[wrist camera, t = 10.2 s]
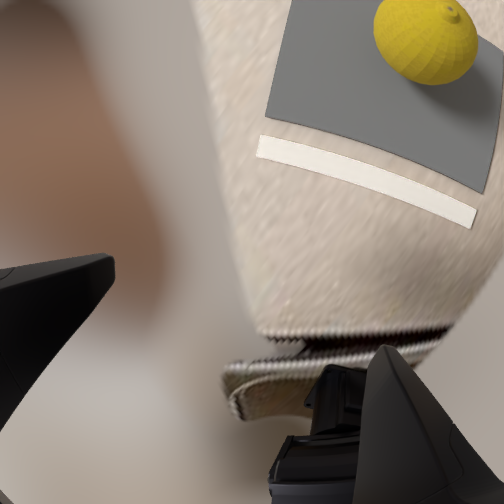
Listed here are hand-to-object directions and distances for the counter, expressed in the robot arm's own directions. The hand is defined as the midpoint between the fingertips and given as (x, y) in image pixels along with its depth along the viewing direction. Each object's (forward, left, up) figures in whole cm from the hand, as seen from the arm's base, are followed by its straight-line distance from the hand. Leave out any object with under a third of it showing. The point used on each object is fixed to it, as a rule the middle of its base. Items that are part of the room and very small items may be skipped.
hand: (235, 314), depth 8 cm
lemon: (+13, -5, -12) cm, 18 cm away
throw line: (+4, -5, -12) cm, 14 cm away
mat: (+12, -5, -12) cm, 18 cm away
